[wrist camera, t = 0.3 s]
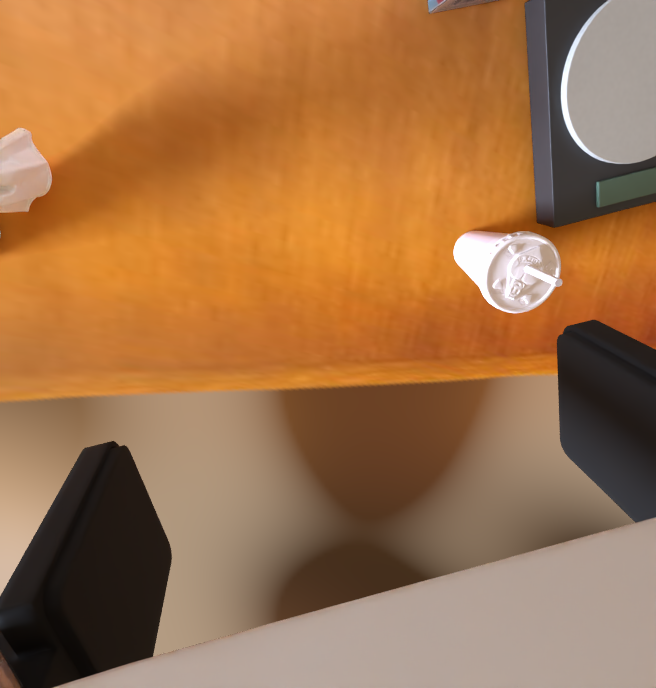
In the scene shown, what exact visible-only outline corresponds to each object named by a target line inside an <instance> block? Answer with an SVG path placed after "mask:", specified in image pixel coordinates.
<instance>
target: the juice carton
mask: <svg viewBox="0 0 656 688" xmlns="http://www.w3.org/2000/svg"><path fill="white" fill-rule="evenodd" d="M492 1H497V0H428V8H429V14H430V13H436V12H441V11H446V10H451V9H456V8H461V7H466V6H472V5H477V4H482V3H487V2H492Z"/></svg>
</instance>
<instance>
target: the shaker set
mask: <svg viewBox="0 0 656 688" xmlns="http://www.w3.org/2000/svg"><path fill="white" fill-rule="evenodd" d="M51 183H52V175H51V170H50V167H49V164H48V162H47V161H46V159H45V158H44V157H43V156H42V155H41V153H40V152H39V151H38V149H37V148H36V147H35V145H34V144H33V141H32V134H31V132H30V131H28V130H26V129H24V128H17V129H16V130H15V131H13V132H11V133H10V134H8V135H6V136H5V137H3V138H1V139H0V213H7V212H28V211H29V208H30V205H31V203H32V201H33V200H34V199H35V198H37V197H40V196H43V195H45V194H46V193H47V192H48V191H49V189H50V187H51ZM0 234H1V232H0ZM0 237H1V235H0Z"/></svg>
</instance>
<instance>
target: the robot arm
mask: <svg viewBox="0 0 656 688" xmlns="http://www.w3.org/2000/svg"><path fill="white" fill-rule="evenodd" d="M557 359H558V390H559V420H560V441H561V445H562V448H563V450H564V452H565V453H566V455H567V456H568V457H569V458H570V459H571V460H572V461H573V462H574V463H575V464H576V465H577V466H578V467H579V468H580V469H581V470H582V471H583V472H584V473H585V474H586V475H587V476H588V477H589V478H590V479H592V480H593V481H594V482H595V483H596V484H597V485H598V486H599V487H600V488H601V489H602V490H603V491H604V492H605V493H606V494H607V495H608V496H609V497H610V498H611V499H612V500H613V501H614V502H615V503H616V504H617V505H618V506H619V507H620V508H621V509H622V510H623V511H624V512H625V513H626V514H628V516H629V517H630V518H632V519H633V520H634V521H635V522H636V523H633V524H629V525H626V526H622V527H618V528H615V529H611V530H607V531H604V532H600V533H596V534H592V535H589V536H585V537H582V538H578V539H575V540H571V541H567V542H563V543H560V544H557V545H553V546H549V547H545V548H542V549H538V550H535V551H531V552H527V553H524V554H520V555H516V556H513V557H509V558H506V559H502V560H498V561H495V562H491V563H488V564H484V565H480V566H477V567H473V568H470V569H466V570H462V571H459V572H455V573H451V574H448V575H444V576H441V577H437V578H433V579H430V580H426V581H423V582H419V583H415V584H412V585H408V586H404V587H401V588H397V589H394V590H390V591H387V592H383V593H379V594H375V595H372V596H368V597H365V598H361V599H357V600H354V601H350V602H346V603H343V604H339V605H336V606H332V607H328V608H325V609H321V610H318V611H314V612H310V613H307V614H303V615H300V616H296V617H292V618H288V619H285V620H282V621H278V622H275V623H271V624H268V625H264V626H260V627H257V628H253V629H250V630H246V631H242V632H239V633H236V634H232V635H228V636H225V637H221V638H218V639H214V640H211V641H207V642H204V643H200V644H196V645H193V646H189V647H186V648H182V649H179V650H175V651H172V652H168V653H164V654H161V655H158V656H154V657H153V653H154V648H155V643H156V638H157V633H158V627H159V622H160V617H161V612H162V607H163V602H164V597H165V591H166V586H167V581H168V576H169V571H170V566H171V559H172V555H171V548H170V544H169V541H168V539H167V537H166V534H165V532H164V530H163V528H162V525H161V523H160V520H159V518H158V516H157V514H156V511H155V509H154V506H153V504H152V502H151V499H150V497H149V495H148V493H147V490H146V488H145V485H144V483H143V481H142V479H141V476H140V474H139V472H138V469H137V467H136V464H135V462H134V460H133V457H132V455H131V453H130V451H129V449H128V448H127V447H126V446H125V445H124V446H119V445H118V444H117V443H116V442H114V441H112V442H107V443H103V444H99V445H95V446H91V447H87V448H85V449H83V451H82V452H81V454H80V456H79V457H78V459H77V461H76V463H75V464H74V466H73V468H72V470H71V471H70V473H69V475H68V477H67V479H66V481H65V482H64V484H63V486H62V488H61V489H60V491H59V493H58V495H57V496H56V498H55V500H54V502H53V504H52V505H51V507H50V509H49V511H48V512H47V514H46V516H45V518H44V519H43V521H42V523H41V525H40V527H39V529H38V530H37V532H36V534H35V535H34V537H33V539H32V541H31V543H30V544H29V546H28V548H27V550H26V551H25V553H24V555H23V557H22V559H21V561H20V562H19V564H18V566H17V567H16V569H15V571H14V573H13V575H12V576H11V578H10V580H9V582H8V583H7V585H6V587H5V589H4V591H3V593H2V594H1V596H0V688H656V350H655V349H653V348H651V347H649V346H647V345H645V344H643V343H641V342H639V341H637V340H635V339H633V338H631V337H629V336H627V335H625V334H623V333H621V332H619V331H617V330H615V329H613V328H611V327H609V326H607V325H605V324H603V323H601V322H599V321H597V320H590V321H586V322H582V323H578V324H574V325H570V326H567V327H566V328H565V329H564V332H563V334H562V335H559V337H558V339H557Z"/></svg>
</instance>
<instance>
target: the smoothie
mask: <svg viewBox="0 0 656 688" xmlns="http://www.w3.org/2000/svg"><path fill="white" fill-rule="evenodd" d="M454 258H455V261H456V262H457V264H458V265H459V266H460V267H461V268H462V269H463V270H464V271H465V272H466V273H467V274H468V275H469V276H470V278H471V279H472V280H473V281H474V282H475V283H476V284H477V285H478V286H479V287H480V290H481V292H482V294H483V297H484V298H485V299H486V300H487V301H488V302H489V304H491V305H493V306H494V307H496V308H497V309H500V310H502V311H505V312H509V313H522V312H526V311H529V310H532V309H534V308H536V307H537V306H539V305H540V304H542V303H543V302H544V301H545V300H546V299H547V298H548V297H549V296H550V295H551V293H552V292H553V290H554V289H555V287H556V286H557V287H559V286H561V285H562V280H561V279H559V277H560V271H561V261H560V256H559V253H558V251H557V249H556V247H555V246H554V245H553V243H552V242H551V241H549V240H548V239H547V238H545V237H543V236H540V235H539V234H536V233H533V232H530V231H519V232H515V233H511V234H508V233H497V232H486V231H469V232H467V233H465V234H463V235H462V236H461V237H460V238H459V239H458V241H457V242H456V244H455V247H454Z"/></svg>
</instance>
